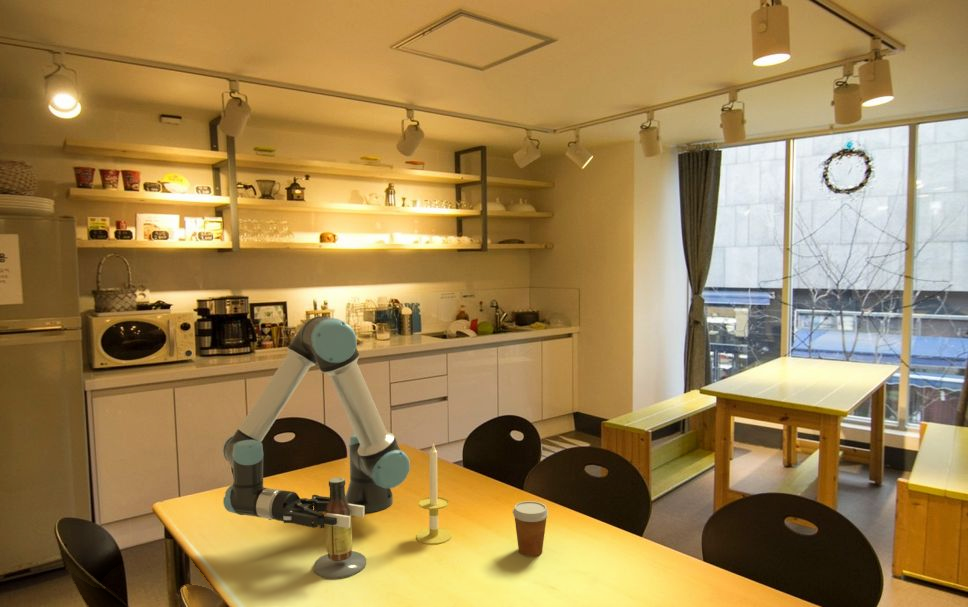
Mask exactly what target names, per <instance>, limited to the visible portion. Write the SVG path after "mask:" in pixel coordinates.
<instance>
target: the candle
mask: <svg viewBox="0 0 968 607" xmlns="http://www.w3.org/2000/svg"><path fill="white" fill-rule="evenodd" d="M449 504H450V503H449V499H447V498H445V497H443V496H438V450H436V447H435V444H434V442H432V446H431V449H430V450H429V497H424V498H422V499H420V500H419V501H418V506H419V507H420V508H422V509H424V510H429V512H428V513H429V515H428V516H429V525H428V527H429V528H425V529H422V530H420V531H419V532H418V533H417V534H416V540H417V542H419V543H420V544H421V543H422V544H425V545H431V546H432V545H440V544H444V543H447V542H449V541H450V540H451V538H452V533H451V532H450V531H449V530H448V529H445V528H439V510H441V509H444V508H446V507H447V506H449Z"/></svg>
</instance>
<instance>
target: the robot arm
mask: <svg viewBox="0 0 968 607" xmlns="http://www.w3.org/2000/svg"><path fill="white" fill-rule="evenodd" d="M357 345H358V338H357V335H356V332H355V330H354V329H353V327H352V326H351V325H350V324H349V323H347V322H345V321H343V320H342V319H339V318H331V317H327V316H322V315H321V316H316V317H311V318H310V319H308V320H307V321H305V322H304V324H303V325H302V326H301V327H300V328H299V330H298V331H297V333H296V334H295V335H294V337H293V339H292V341H291V342H290V343H289V345H288V346H287V348H286V351H287V354H286V355H285V357H284V359H283V361H281V364H280V365H279V367H278V368H277V369H276V371H275V372H274V374H273V376H272V377H271V379H270V380H269V382H268V383H267V385H266V386H265V388H264V389H263V390H262V392H261V394H260V395H259V397H258V399H256V401H255V403H254V405H253V406H252V407H251V409H250V411H249V412H248V414H247V415H246V417H245V418H244V419H243V421H242V422H241V424H240V426H239V427H238V428H237V429H236V432H234V434H233V435H231V436H229V437H228V438H226V440H225V441H224V443H223V445H222V454H223V456H224V459H225V460H226V461H227V462H228V465H230V467H231V468H232V478H233V484H231V485H229V487H228V488H226V491H225V492H224V494H225V495H224V497H223V502H222V503H223V507H224V508H225V510H226V511H227V512H229V513H233V514H237V515H240V516H248V517H257V518H261V519H268V521H272V520H275V521H278V522H279V521H280V522H283V523H284V524H293V525H294V524H295V525H297V526H298V525H300V526H303V527H307V528H308V527H309V528H313V529H317V528H320V529H324V528H326V525H332V526H338V527H345V528H350V516H346V515H339V514H333V513H326V506H327V504H328V502H329V499H330V496H322V495H321V496H320V495H317V494H313V495H311V498H310V499H309V498H306V497H305V498H300V497H299V495H298V493H297V492H295V491H290V490H283V489H277V488H269V487H265V486H264V456H265V454H264V450H263V449H264V447H263V443H262V442H263V440H264V438H265V437H266V435H267V434H268V432H269V431H270V430H271V427H272V426H273V424H274V423H275V422H276V420H277V419H278V417H279V415H280V413H281V412H282V411H283V409H284V408H285V406H286V404H287V403H288V402H289V401H290V399H291V397H292V396H293V394H294V392H296V389H297V387H299V385H300V383H301V382H302V380H303V378H304V377H305V376H306V374H307V373H308V371H309V369H310V368H312V367H315V366H316V365H317V366H318V368H319V370H320V372H321V373H323V374H325V375H328V376H329V378H330V382H332V383H331V384H332V385H333V388H334V390H335V392H336V394H337V396H338V398H339V401H340V403H341V405H342V409H344V412H345V414H346V416H347V418H348V421H349V423H350V425H351V428H352V430H353V432H354V434H352V435H351V436H350V438H349V445H348V447H349V484H348V487H347V491H346V492H345V496H346V499H347V501H348V504H349V507H350V510H351V517H357V518H364V517H365V513H374V512H379V511H382V510H385V509H387V508H389V507H390V506H392V504H393V502H394V501H393V499H394V498H393V497H394V496H393V492H392V490H391V489H393V488H396V487H398V486H400V485H401V484H402V483H403V482H405V480H406V479H407V478H408V475H409V472H410V469H411V462H410V458H409V457H408V455H407V453H406V452H404V451H403V450H401V448H400V446H399V443H398V441H397V439H396V437H395V435H394V434H393V433H392V432H390V431H387V429H386V427H385V426H386V425H385V424H384V421H383V419H382V418H381V415H380V413H379V410H378V408H377V405H376V403H375V401H374V400H373V399H374V398H373V397H372V393H371V391H370V390H369V387H368V385H367V382H366V381H365V378H364V376H363V374H362V371H361V369H360V367H359V364H358V360H359V358H360V353H359V350H358V348H357ZM319 526H320V527H319Z"/></svg>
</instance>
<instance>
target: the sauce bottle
mask: <svg viewBox="0 0 968 607" xmlns="http://www.w3.org/2000/svg"><path fill="white" fill-rule="evenodd" d="M328 487H329V497H330V499H329V502H328V504H327V506H326V512H325V514H326V513H333V514H339V515H346V516H350V528H345V527H338V526H332V525H326V524H325V528H326V530H325V531H326V552H327V554H328V558H329V559H331V560H333V561H342V560H346V559H348V558H349V557H351V555H352V551H353V532H352V530H353V529H352V516H351V510H350V507H349V504H348V501H347V499H346V489H345V488H346V479H345V478H344V477H340V476H339V477H333V478H330V479H329V480H328Z"/></svg>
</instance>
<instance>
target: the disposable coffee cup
mask: <svg viewBox="0 0 968 607" xmlns="http://www.w3.org/2000/svg"><path fill="white" fill-rule="evenodd" d="M549 513H550V512H549V510H548V508H547V505H546V504H544V503H542V502H539V501H533V500H527V501H525V500H523V501H520V502H518V503H516V504H515V505H514V508H513V510H512V514H513V517H514V521H515V522H514V523H515V531H516V532H515V533H516V539H517V547H518V548H517V550H518V552H519V554H520V555H522V556H525V557H538V556H540V555H541V554H542V553H543V548H544V540H545V534H546V532H545V531H546V526H547V518H548V516H549Z"/></svg>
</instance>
